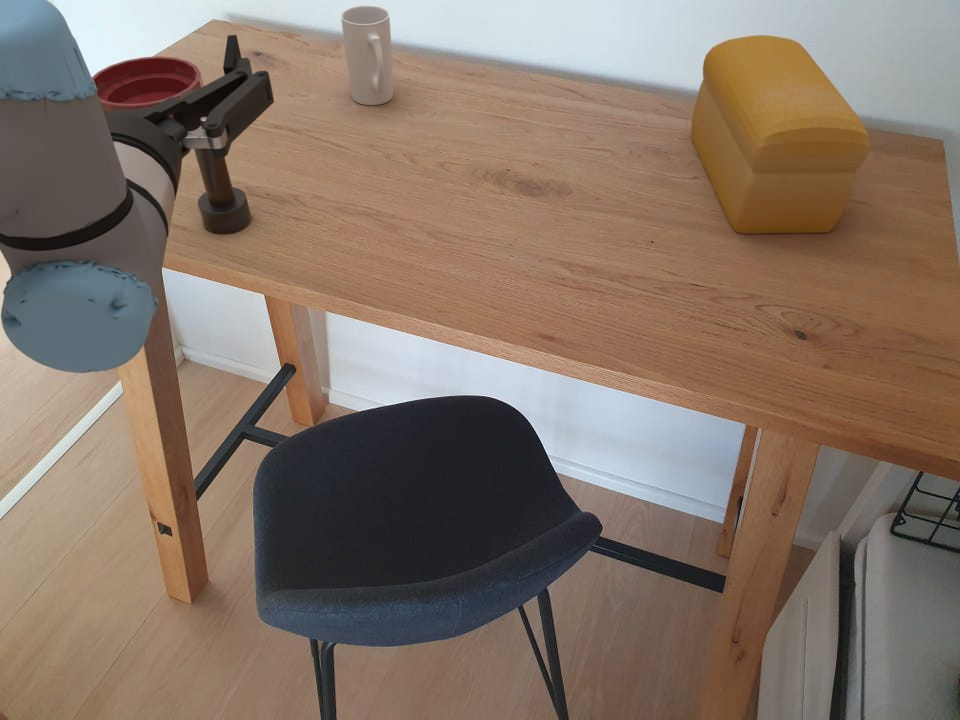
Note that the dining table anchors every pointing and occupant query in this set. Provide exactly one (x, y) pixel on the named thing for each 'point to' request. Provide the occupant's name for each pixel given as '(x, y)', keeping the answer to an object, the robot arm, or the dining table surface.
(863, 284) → the dining table surface
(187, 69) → the bowl
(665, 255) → the dining table surface
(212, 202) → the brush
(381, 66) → the mug
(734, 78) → the bread
